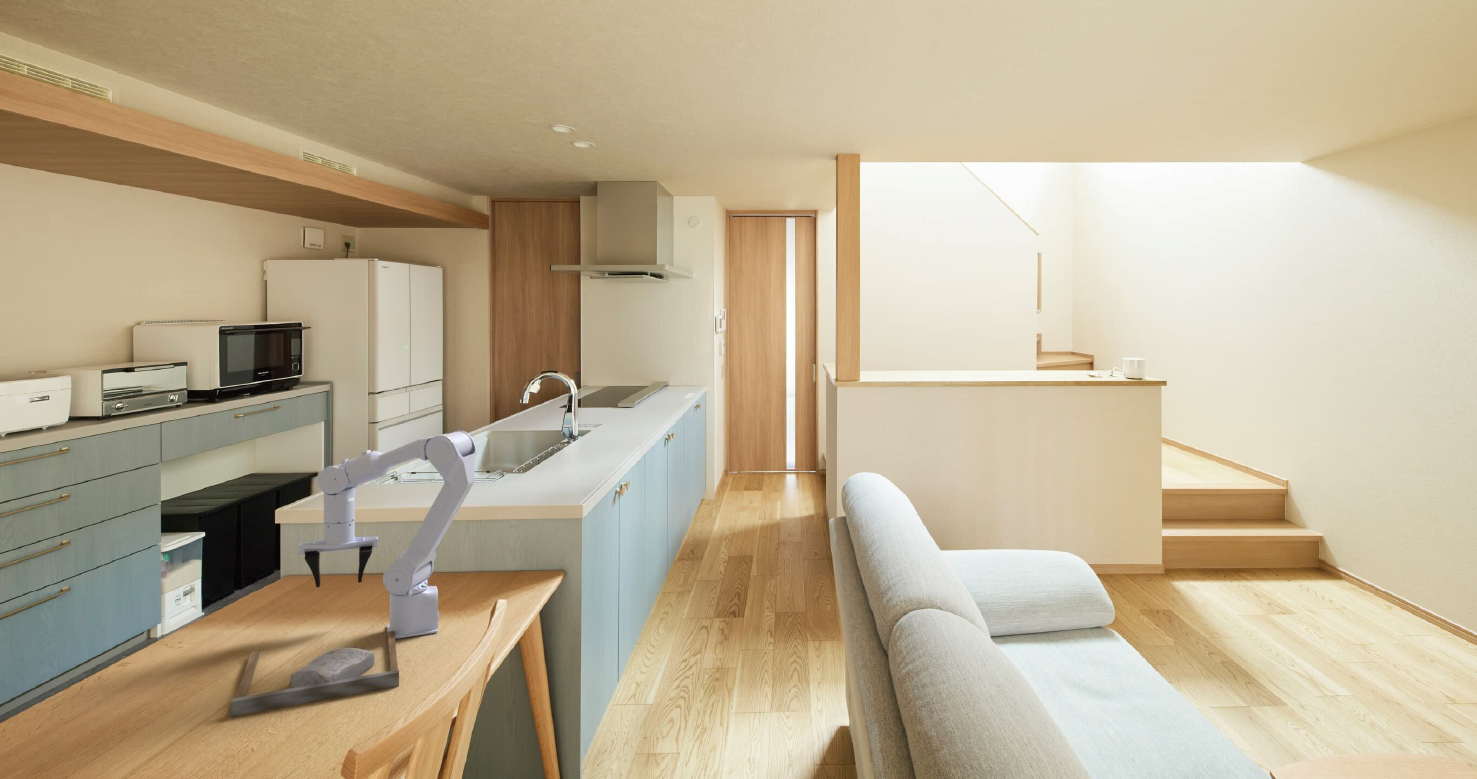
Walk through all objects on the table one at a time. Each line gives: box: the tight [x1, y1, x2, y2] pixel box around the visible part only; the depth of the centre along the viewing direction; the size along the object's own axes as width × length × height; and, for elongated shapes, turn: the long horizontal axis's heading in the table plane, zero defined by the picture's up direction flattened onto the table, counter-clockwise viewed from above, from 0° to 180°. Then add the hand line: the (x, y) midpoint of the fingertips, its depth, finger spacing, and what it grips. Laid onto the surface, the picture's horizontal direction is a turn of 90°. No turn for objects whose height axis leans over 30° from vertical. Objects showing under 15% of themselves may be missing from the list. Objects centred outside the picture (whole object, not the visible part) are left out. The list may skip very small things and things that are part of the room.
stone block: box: [289, 647, 375, 688], centre depth 125 cm, size 12×5×10 cm
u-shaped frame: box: [230, 631, 400, 718], centre depth 126 cm, size 24×23×2 cm
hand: (339, 583), depth 146 cm, fingers open, 7 cm apart
